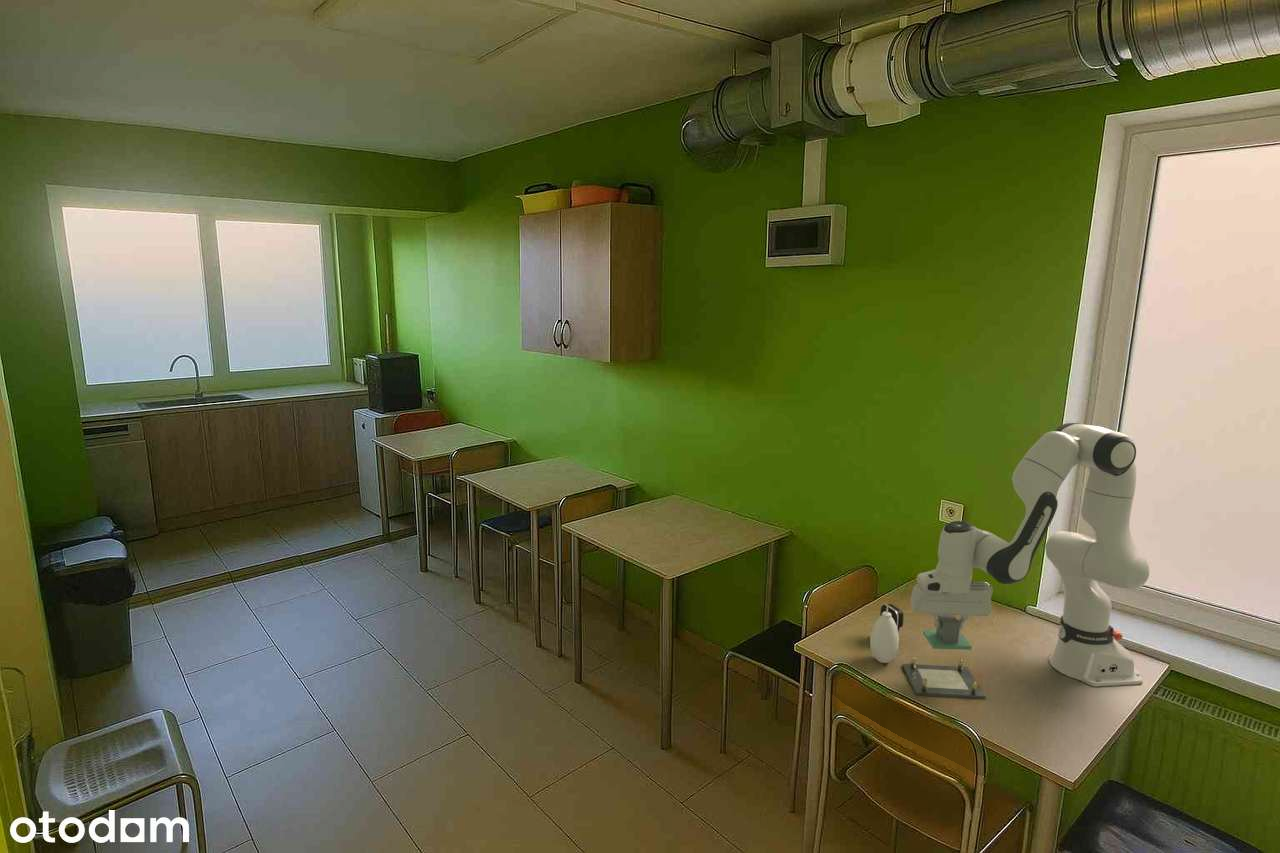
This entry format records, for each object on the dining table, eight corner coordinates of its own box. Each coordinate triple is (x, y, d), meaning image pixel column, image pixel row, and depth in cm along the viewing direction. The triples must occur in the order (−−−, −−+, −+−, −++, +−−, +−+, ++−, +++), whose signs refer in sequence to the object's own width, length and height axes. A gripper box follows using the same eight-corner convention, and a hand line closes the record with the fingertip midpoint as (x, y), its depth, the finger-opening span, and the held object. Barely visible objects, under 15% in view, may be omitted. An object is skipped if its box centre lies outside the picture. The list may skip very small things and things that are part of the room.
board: (959, 634, 194) (962, 611, 193) (971, 649, 187) (973, 626, 185) (923, 633, 195) (925, 610, 193) (933, 648, 187) (935, 625, 186)
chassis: (966, 669, 200) (968, 657, 199) (985, 698, 186) (987, 686, 185) (902, 665, 201) (903, 654, 201) (915, 694, 188) (917, 682, 187)
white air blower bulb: (872, 651, 209) (876, 596, 205) (899, 658, 205) (904, 602, 201) (865, 663, 203) (870, 607, 198) (893, 671, 199) (899, 614, 195)
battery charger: (903, 645, 212) (906, 610, 210) (893, 647, 211) (896, 613, 209) (887, 634, 219) (890, 600, 216) (877, 636, 217) (880, 602, 215)
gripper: (988, 577, 189) (983, 623, 192) (911, 574, 191) (906, 620, 194) (998, 587, 183) (992, 635, 186) (917, 584, 185) (913, 631, 188)
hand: (947, 627), depth 190 cm, fingers closed on board, 4 cm apart
